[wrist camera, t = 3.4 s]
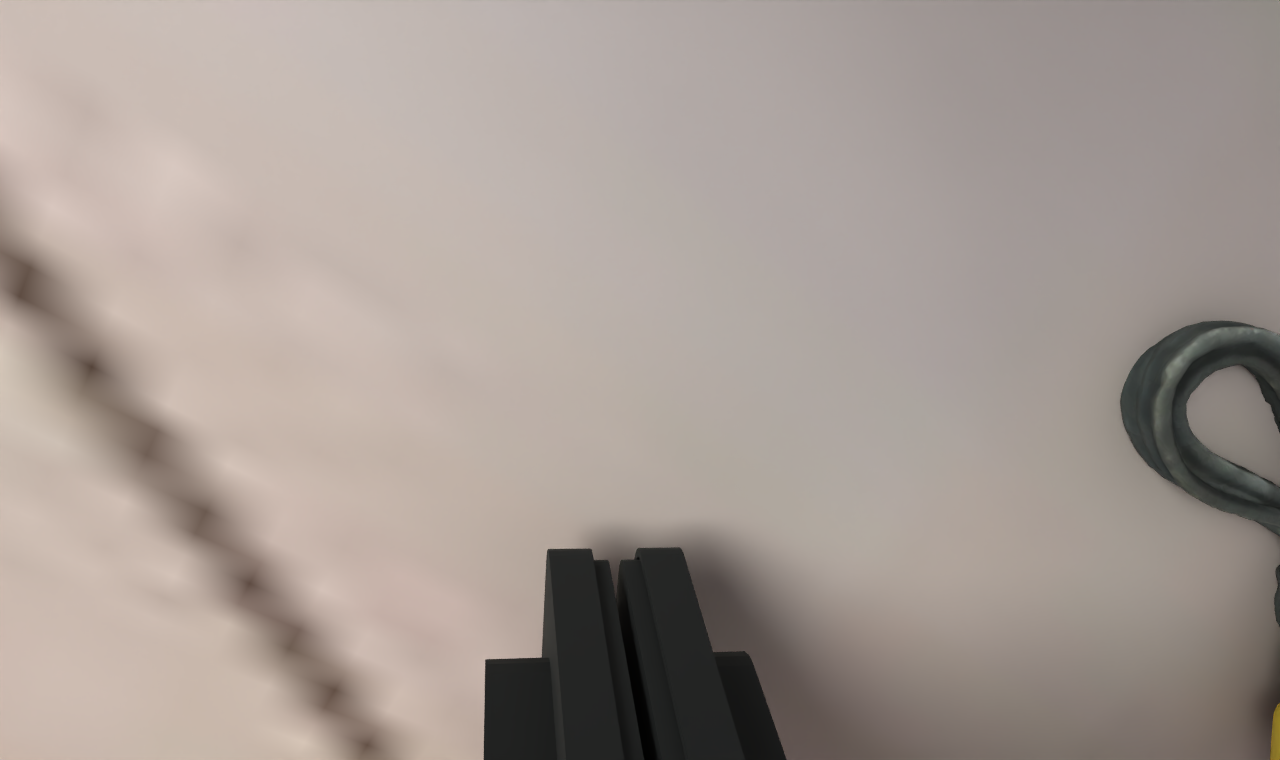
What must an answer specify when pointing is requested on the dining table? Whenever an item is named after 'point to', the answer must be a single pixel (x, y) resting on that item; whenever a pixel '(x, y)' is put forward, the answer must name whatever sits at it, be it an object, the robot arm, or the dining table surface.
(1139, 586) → the dining table surface
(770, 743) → the robot arm
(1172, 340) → the composite cable
